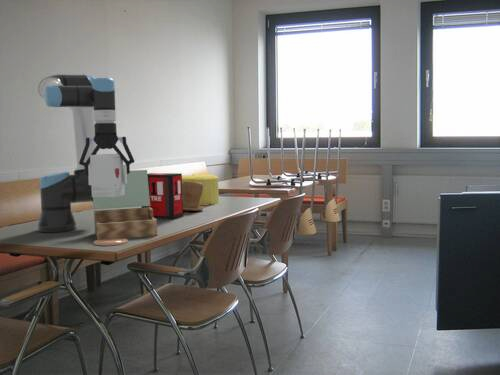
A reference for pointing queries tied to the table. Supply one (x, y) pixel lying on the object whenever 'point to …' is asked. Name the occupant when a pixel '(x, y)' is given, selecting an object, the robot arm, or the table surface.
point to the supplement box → (107, 175)
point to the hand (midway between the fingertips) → (108, 184)
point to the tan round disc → (110, 241)
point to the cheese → (205, 187)
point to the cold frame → (125, 223)
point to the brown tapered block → (191, 195)
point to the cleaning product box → (165, 195)
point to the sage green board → (128, 193)
